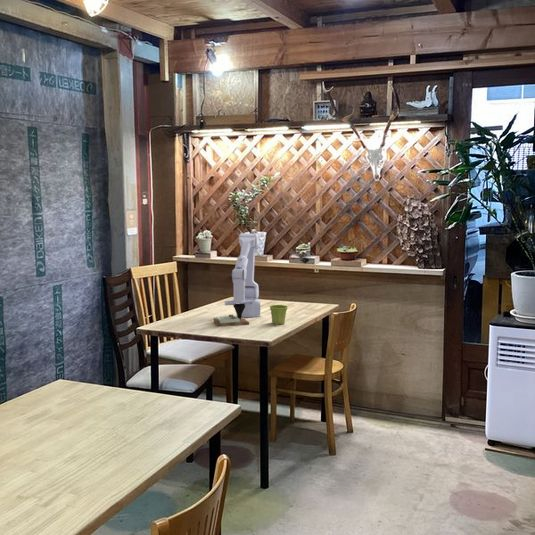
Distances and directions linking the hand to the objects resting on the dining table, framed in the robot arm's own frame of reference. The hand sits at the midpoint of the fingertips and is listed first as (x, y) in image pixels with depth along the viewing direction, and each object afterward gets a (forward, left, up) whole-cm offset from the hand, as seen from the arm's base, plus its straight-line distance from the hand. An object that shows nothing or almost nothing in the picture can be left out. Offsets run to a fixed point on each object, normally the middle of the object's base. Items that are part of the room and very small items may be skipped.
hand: (239, 318), depth 309 cm
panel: (+6, 0, -1) cm, 6 cm away
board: (+4, 0, -2) cm, 5 cm away
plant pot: (-19, +6, -2) cm, 20 cm away
